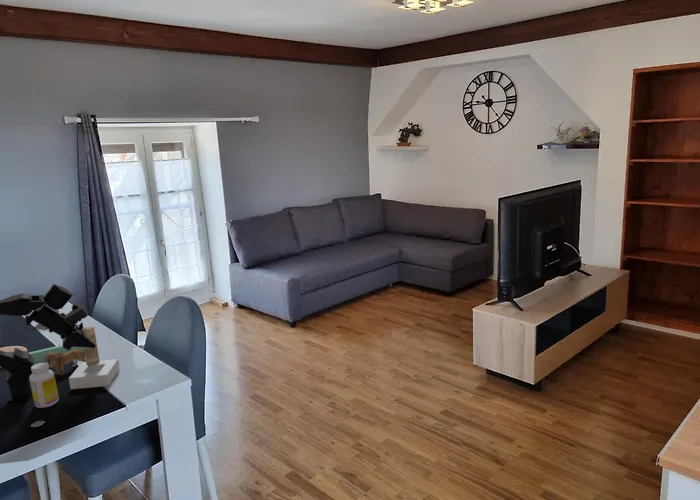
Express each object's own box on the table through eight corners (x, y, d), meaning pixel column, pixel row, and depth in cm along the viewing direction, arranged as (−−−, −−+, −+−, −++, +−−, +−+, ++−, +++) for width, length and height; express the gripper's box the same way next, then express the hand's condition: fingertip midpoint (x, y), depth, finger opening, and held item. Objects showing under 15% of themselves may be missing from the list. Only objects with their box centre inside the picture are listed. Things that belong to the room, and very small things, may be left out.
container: (17, 353, 184) (93, 336, 197) (19, 353, 189) (93, 336, 202) (20, 369, 184) (96, 351, 196) (22, 369, 189) (96, 351, 201)
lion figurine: (54, 380, 175) (49, 356, 173) (44, 378, 178) (39, 354, 175) (92, 363, 188) (88, 340, 186) (82, 360, 190) (78, 338, 188)
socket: (108, 385, 170) (106, 374, 169) (70, 389, 169) (68, 378, 168) (119, 369, 182) (117, 359, 181) (84, 372, 180) (82, 362, 179)
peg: (97, 365, 172) (91, 330, 169) (84, 366, 172) (79, 331, 169) (101, 360, 176) (95, 326, 173) (89, 361, 176) (83, 327, 173)
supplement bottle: (62, 396, 164) (55, 359, 161) (54, 407, 158) (46, 369, 155) (40, 398, 163) (33, 361, 160) (30, 409, 157) (23, 371, 154)
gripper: (68, 308, 159) (112, 334, 166) (69, 292, 175) (109, 317, 182) (43, 337, 157) (89, 362, 164) (46, 319, 173) (88, 342, 181)
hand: (94, 344), depth 173 cm, fingers closed on peg, 4 cm apart
